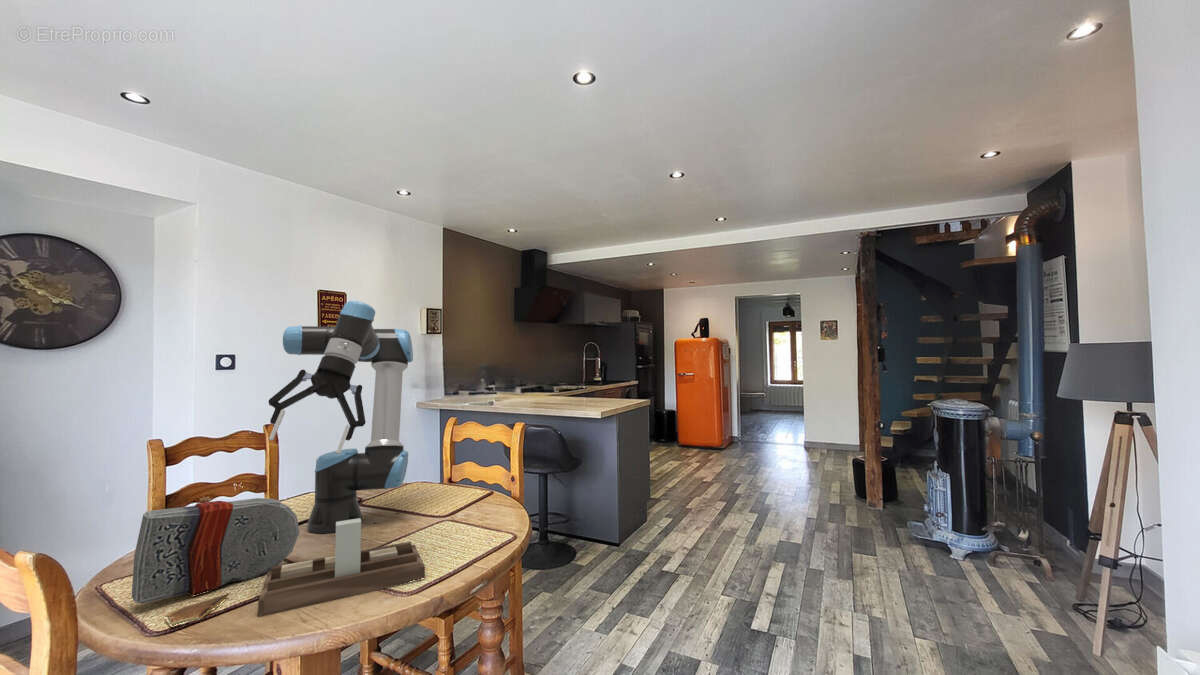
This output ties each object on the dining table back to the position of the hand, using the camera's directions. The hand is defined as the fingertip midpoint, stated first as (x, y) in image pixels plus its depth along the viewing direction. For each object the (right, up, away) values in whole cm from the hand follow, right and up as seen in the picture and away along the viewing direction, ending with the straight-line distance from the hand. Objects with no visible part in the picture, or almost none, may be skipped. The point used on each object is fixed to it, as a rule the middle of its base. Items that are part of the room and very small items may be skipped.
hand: (305, 446), depth 106 cm
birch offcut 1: (-3, -33, +2) cm, 33 cm away
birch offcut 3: (+13, -33, +10) cm, 37 cm away
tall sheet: (+9, -32, 0) cm, 34 cm away
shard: (-18, -33, -9) cm, 38 cm away
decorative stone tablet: (-21, -33, +4) cm, 40 cm away
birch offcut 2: (+5, -33, +6) cm, 34 cm away
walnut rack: (+7, -33, +5) cm, 34 cm away
